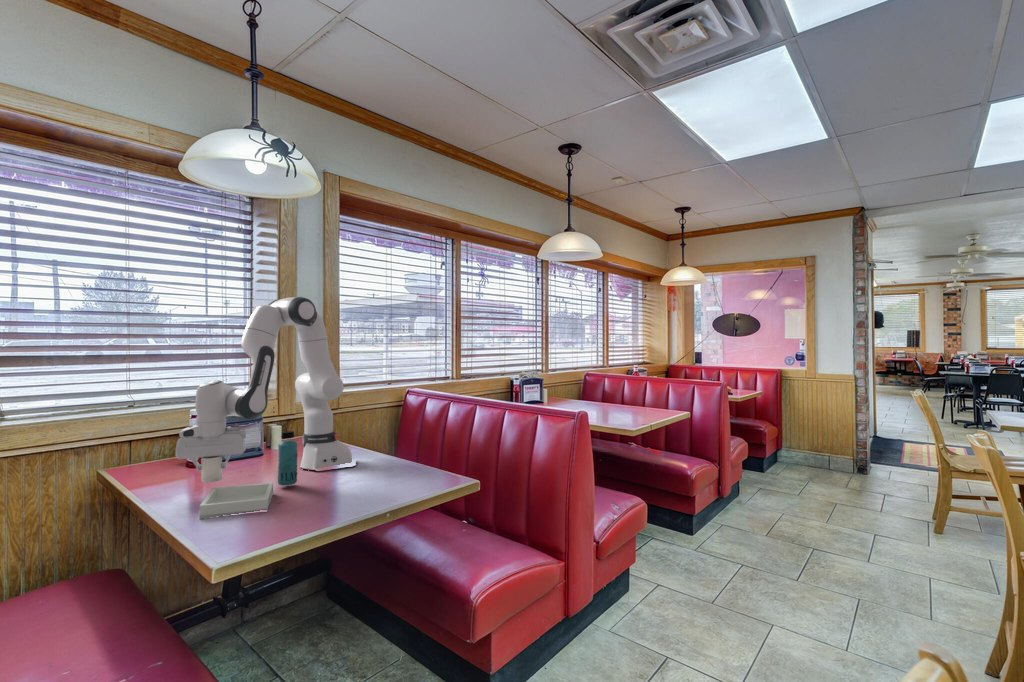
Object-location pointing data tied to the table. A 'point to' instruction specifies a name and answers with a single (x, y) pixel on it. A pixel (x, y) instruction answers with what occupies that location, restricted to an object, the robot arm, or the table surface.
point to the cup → (211, 469)
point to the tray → (236, 500)
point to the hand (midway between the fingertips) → (211, 469)
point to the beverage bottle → (287, 460)
